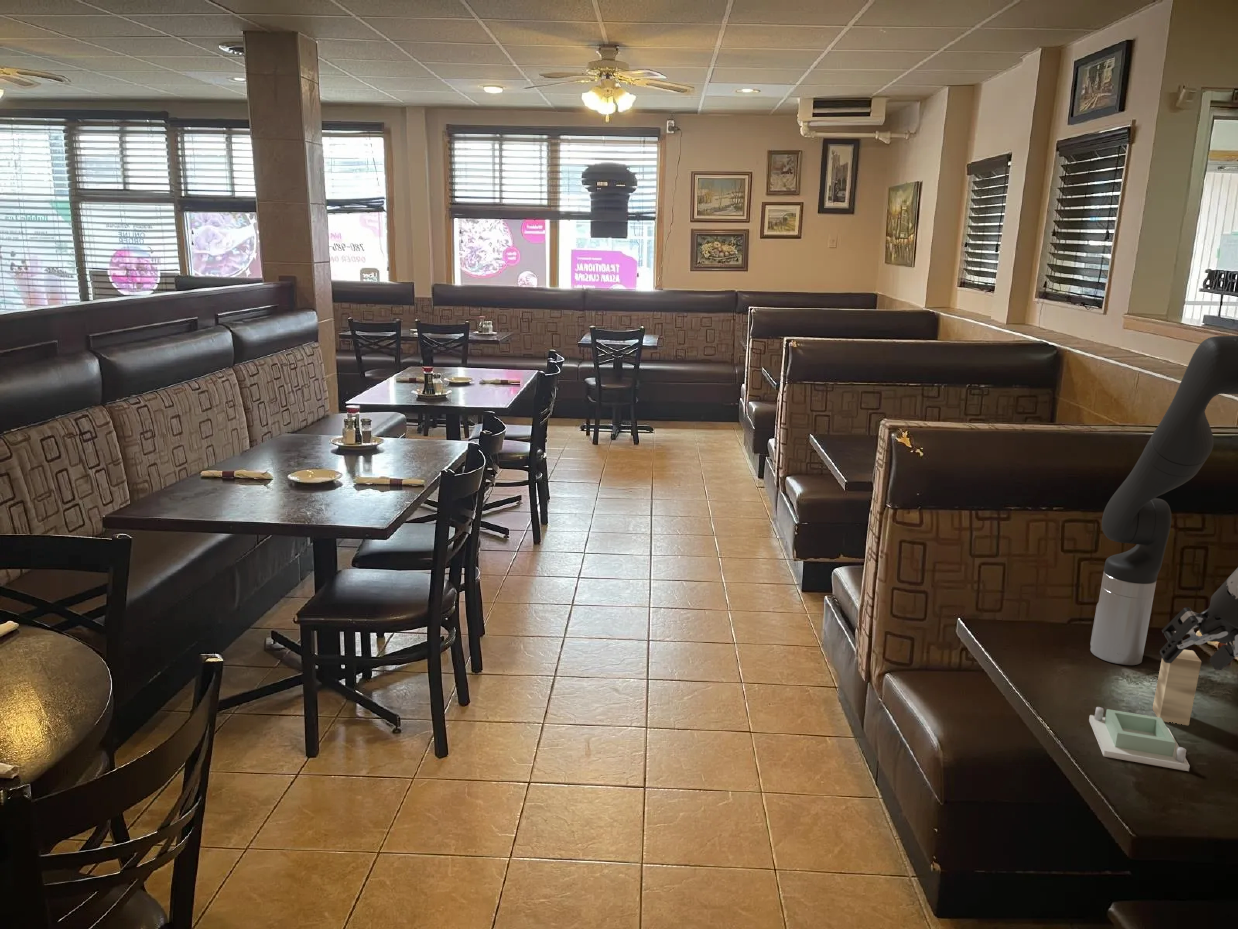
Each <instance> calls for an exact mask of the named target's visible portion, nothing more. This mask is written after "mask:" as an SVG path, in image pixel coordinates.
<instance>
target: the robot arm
mask: <svg viewBox="0 0 1238 929" xmlns="http://www.w3.org/2000/svg"><path fill="white" fill-rule="evenodd" d="M1218 395H1238V335H1218V336H1217V335H1216V336H1211V337H1208V338H1206V339H1205V340H1203V341H1202V342H1201V343H1200V344H1199V345H1198V347H1197V348H1196V349H1195V350H1194V353H1193V354H1192V356H1191V359H1190V361H1189V363H1188V365H1187V367H1186V369H1185V372H1184V374H1183V377H1182V379H1181V382H1180V383H1179V385H1178V388H1177V390H1176V393H1175V395H1174V397H1173V399H1172V401H1171V403H1170V405H1169V406H1168V408H1167V410H1166V412H1165V414H1164V416H1162V419H1161V420H1160V422H1159V424H1158V426H1157V427H1156V428H1155V430H1154V432H1152V434H1151V436H1150V438H1149V440H1148V441H1147V443H1146V444H1145V447H1144V448H1143V451H1142V453H1141V455H1140V456H1139V458H1138V460H1137V462H1136V463H1135V465H1134V467H1133V468H1132V470H1131V472H1130V473H1129V474H1128V475H1127V477H1126V478H1125V480H1124V481H1123V482H1122V483H1121V484H1120V486H1119V487H1118V488H1117V489H1116V491H1115V492H1114V494H1112V496H1111V497H1110V499H1109V501H1108V502H1107V504H1106V506H1105V508H1104V510H1103V515H1102V518H1101V528H1102V533H1103V534H1104V536H1105V537H1106V538H1107V540H1110V541H1113V542H1115V543H1122V544H1131V545H1133V544H1134V545H1135V546H1134V547H1131V548H1130V549H1128V550H1127V551H1123V552H1121V553H1116V554H1112V555H1110V556H1108V557H1107V558H1106V560H1105V562H1104V568H1103V574H1102V579H1101V586H1100V592H1099V597H1098V602H1097V603H1096V606H1095V607H1096V608H1095V615H1094V620H1093V626H1092V630H1091V637H1090V644H1089V645H1090V652H1091V653H1092V655H1094V656H1095V657H1097V658H1098V659H1101V660H1103V661H1106V662H1108V663H1112V664H1116V665H1123V666H1135V665H1139V664H1141V663H1142V662H1143V656H1144V651H1145V646H1146V641H1147V635H1148V630H1149V624H1150V619H1151V614H1152V608H1153V601H1154V596H1155V590H1156V586H1157V585H1156V584H1157V580H1158V575H1159V572H1160V571H1161V568H1162V564H1163V560H1164V556H1165V552H1166V548H1167V544H1168V540H1169V536H1170V532H1171V526H1172V511H1171V507H1170V505H1169V503H1168V502H1167V501H1166V500H1165V499H1162V498H1158V497H1159V496H1162V495H1164V494H1166V493H1168V492H1171V491H1172V490H1174V489H1176V488H1179V487H1180V486H1182V485H1184V484H1186V483H1187V482H1189V481H1191V479H1192V478H1194V477H1195V476H1196V475H1197V474H1198V473H1199V471H1200V470H1201V468H1202V467H1203V466H1204V464H1205V462H1206V461H1207V460H1208V458H1209V456H1210V454H1211V453H1212V451H1213V448H1214V434H1213V431H1212V429H1211V428H1212V427H1211V426H1210V423H1209V421H1208V418H1207V415H1206V409H1207V407H1208V405H1209V403H1210V402H1211V401H1212V399H1213V398H1214V397H1216V396H1218ZM1196 628H1198V631H1199V633H1200V634H1201V635H1197V634H1196V632H1195V629H1196ZM1161 632H1162V634H1163V635H1164V637H1165V639H1166V640H1167V642H1166V643H1165V644H1164V645H1162V647H1161V648H1160V650H1159V654H1160V657H1161V660H1162V659H1163V660H1164V662H1165V663H1172V662H1173V661H1174V660H1175V659H1176V657H1177V656H1178V655H1179V654H1180V653H1181V652H1182V651H1183V650H1185V649H1186V648H1188V647H1191V646H1192V645H1197V646H1201V645H1203V644H1205V643H1209V642H1211V643H1213V642H1214V643H1215V642H1218V643H1220V644H1222V645H1221V646H1220V647H1219V648H1218V649H1217V650H1216V651H1215V652H1214V653H1213V654H1212V656H1210V658H1209V663H1210V664H1211V666H1212V667H1213V669H1214V670H1217V671H1222V670H1223V668H1225V667H1227V666H1229V664H1230V663H1231V662H1232V661H1233V660H1234V659H1235V658H1238V567H1237V568H1236V569H1235V570H1234V571H1233V572H1231V575H1229V576H1228V578H1227V579H1226V580H1224V582H1223V583H1222V584H1221V585H1220V587H1219V588H1217V589H1216V591H1215V592H1214V593H1213V594H1212V595H1211V597H1210V604H1209V606H1208V608H1207V609H1205V610H1203V611H1201V612H1200V613H1198V612H1195V611H1193V610H1192V609H1191V607H1189V606H1187V607H1184V608H1182V609H1181V610H1180V611H1179V612H1178V613H1177V614H1176V615H1175V616H1174V617H1173V618H1172V619H1171V620H1170V622H1168V623H1167V625H1165V626H1164V627H1163V628H1162V629H1161ZM1186 635H1189V637H1187V638H1186V639H1184V640H1183V638H1184V637H1185V636H1186Z"/></svg>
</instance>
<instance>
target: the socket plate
mask: <svg viewBox="0 0 1238 929" xmlns="http://www.w3.org/2000/svg"><path fill="white" fill-rule="evenodd" d="M1104 712H1105V716H1104ZM1088 722H1089V724H1090V726H1091V728H1092V731H1093V733H1094V736H1095V738H1096V740H1097V743H1098V746H1099V748H1100V750H1101V753H1102V756H1103V757H1105V758H1111V759H1117V760H1123V761H1128V762H1133V763H1134V762H1135V763H1139V764H1145V765H1151V766H1156V767H1163V768H1169V769H1174V770H1179V771H1185V772H1190V767H1191V766H1190V764H1189V762H1188V760H1187V758H1186V756H1187V754H1186V753H1187V749H1186V748H1185V747H1182V746H1180V745H1179V744H1178V742H1177V740H1176V739H1175V737H1174V735H1173V734H1172V732H1171V730H1170V728H1169V727H1167V726H1166V724H1165V723H1166V722H1163V720H1162V718H1160V717H1157V716H1152V715H1148V714H1147V715H1146V714H1140V713H1136V712H1135V713H1134V712H1128V711H1121V710H1117V709H1116V710H1115V709H1109V708H1106V711H1105V708H1103V707H1100V706H1096V707H1095V712H1094V715H1093V714H1090V715H1089V719H1088Z"/></svg>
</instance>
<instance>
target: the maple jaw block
mask: <svg viewBox="0 0 1238 929" xmlns="http://www.w3.org/2000/svg"><path fill="white" fill-rule="evenodd" d="M1159 666H1160V668H1159V673H1158V676H1157V681H1156V688H1155V693H1154V697H1153V698H1154V699H1153V704H1152V710H1153V712H1154V714H1155V717H1160V718H1162V720H1163V722H1164V723H1169V722H1171V724H1175V723H1177V725H1181V724H1182V725H1183V726H1189V725H1190V720H1191V716H1192V711H1193V706H1194V702H1195V697H1196V696H1195V695H1196V690H1197V685H1198V682H1199V675H1200V671H1201V666H1202V660H1201V659H1200V658H1199V656H1198V655H1197V654H1196V652H1195V651H1194V650H1192V649H1191V650H1190V649H1184V650H1183V651H1182V652H1181V653H1180V654H1179V655H1178V656H1177V657H1176V659H1175V660H1174V661H1173V662H1172V663H1165V662H1164V660H1163V659H1162V658H1161V662H1160V665H1159ZM1172 722H1173V723H1172ZM1182 725H1181V726H1182Z"/></svg>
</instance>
